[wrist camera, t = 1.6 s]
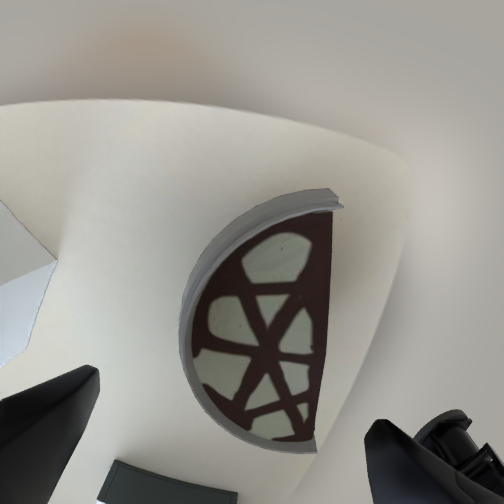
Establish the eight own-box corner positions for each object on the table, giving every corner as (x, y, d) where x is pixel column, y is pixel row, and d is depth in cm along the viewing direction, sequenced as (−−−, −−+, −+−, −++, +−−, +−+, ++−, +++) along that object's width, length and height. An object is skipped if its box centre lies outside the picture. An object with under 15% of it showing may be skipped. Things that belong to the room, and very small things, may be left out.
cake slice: (203, 188, 19) (150, 192, 9) (300, 187, 19) (344, 188, 9) (213, 358, 22) (189, 459, 12) (295, 357, 21) (316, 459, 12)
